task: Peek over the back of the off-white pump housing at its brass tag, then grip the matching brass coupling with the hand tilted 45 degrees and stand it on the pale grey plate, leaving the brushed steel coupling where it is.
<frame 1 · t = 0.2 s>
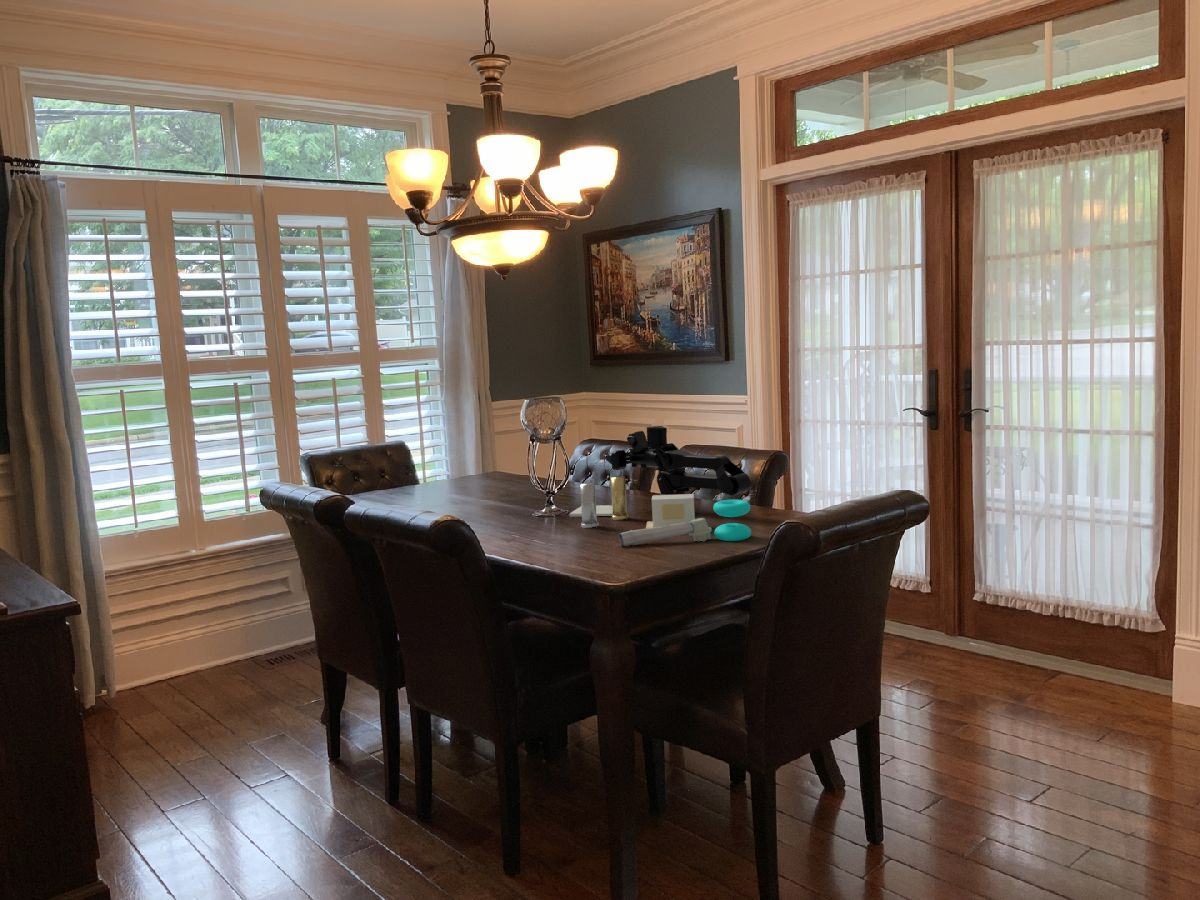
hand: (615, 456, 317), 17 cm above the table, tool horizontal, fingers open, 9 cm apart
brass coupling: (620, 518, 296), on the table
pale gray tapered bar: (665, 544, 259), on the table
donuts: (733, 538, 260), on the table
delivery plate: (596, 512, 308), on the table
pump housing: (674, 528, 277), on the table
steel coupling: (589, 526, 286), on the table
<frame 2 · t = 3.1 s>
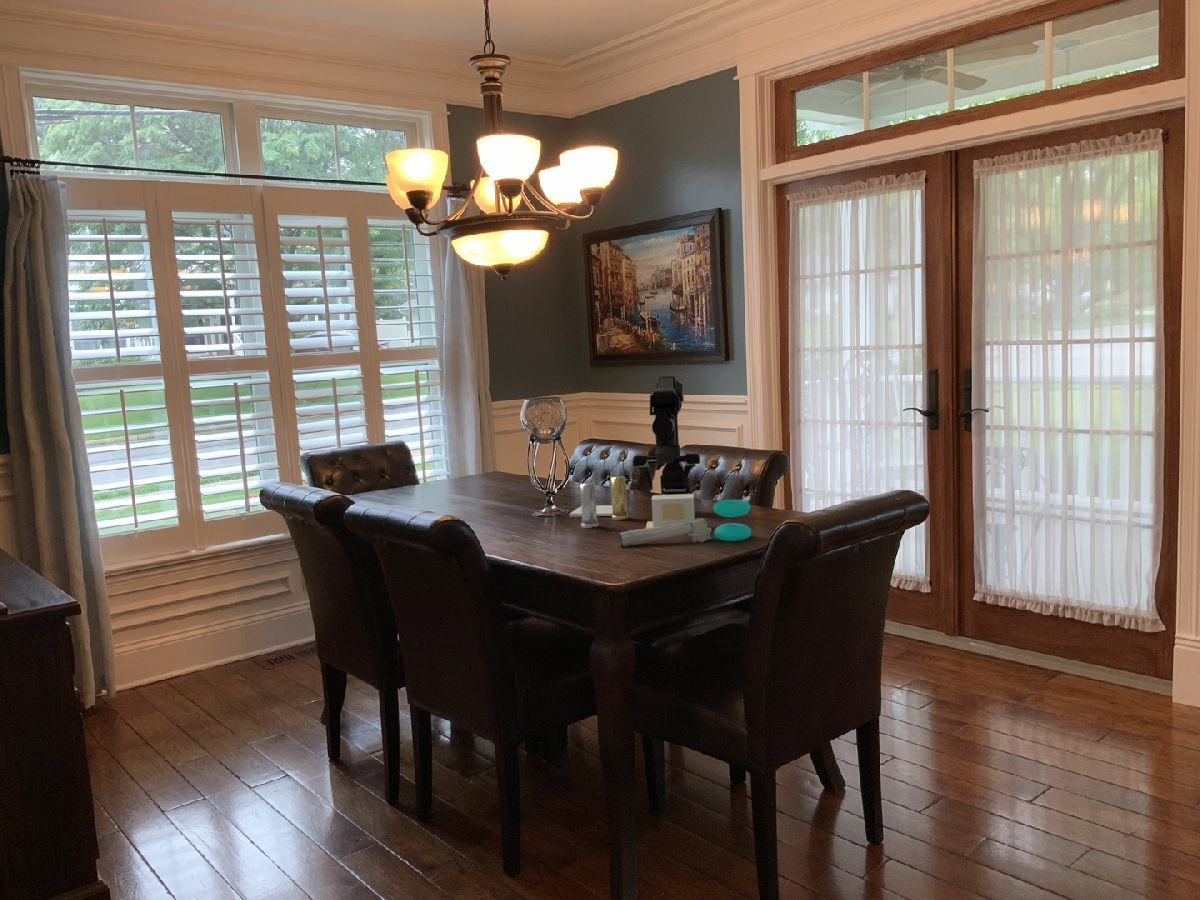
hand: (667, 489, 270), 12 cm above the table, tool pointing down, fingers open, 9 cm apart
nothing on the table moved.
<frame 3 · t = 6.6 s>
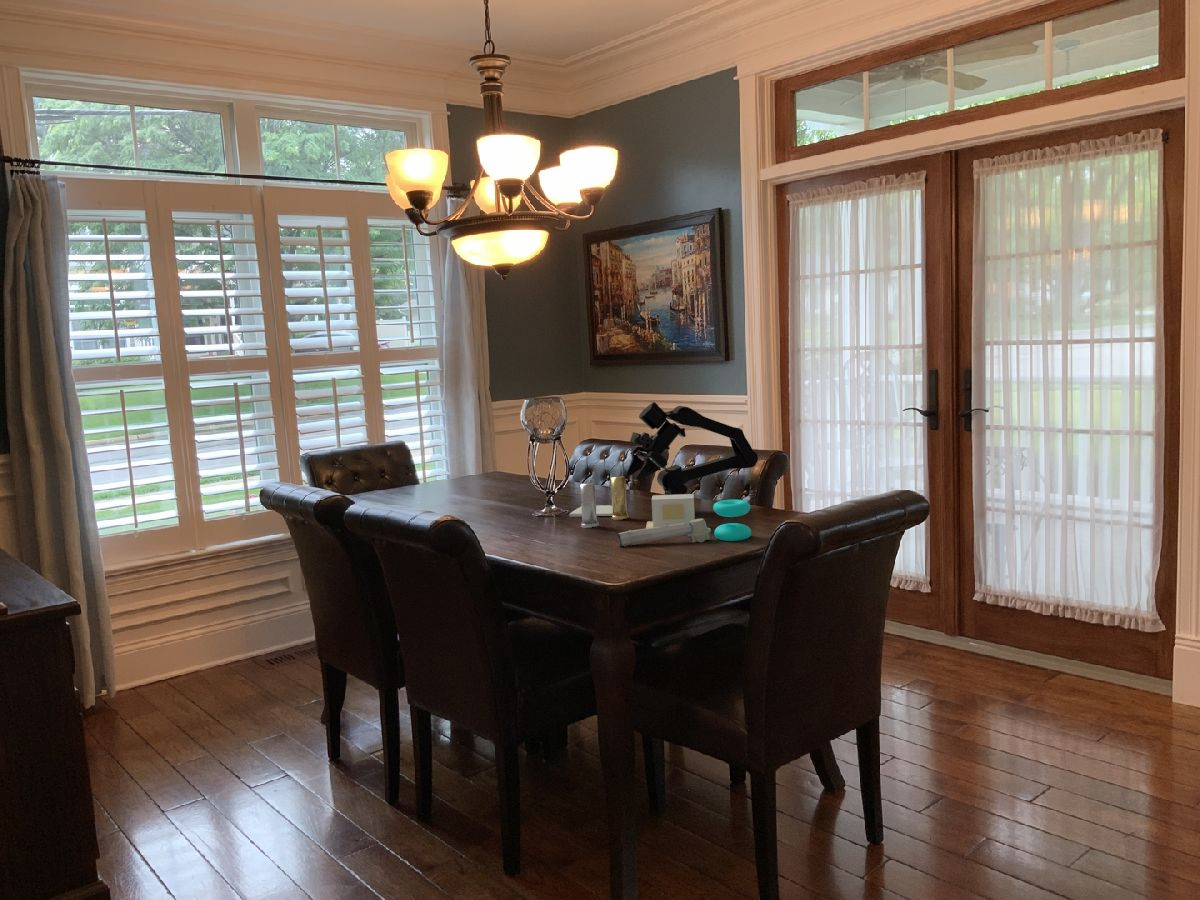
hand: (631, 477, 296), 12 cm above the table, tool tilted 45°, fingers open, 9 cm apart
nothing on the table moved.
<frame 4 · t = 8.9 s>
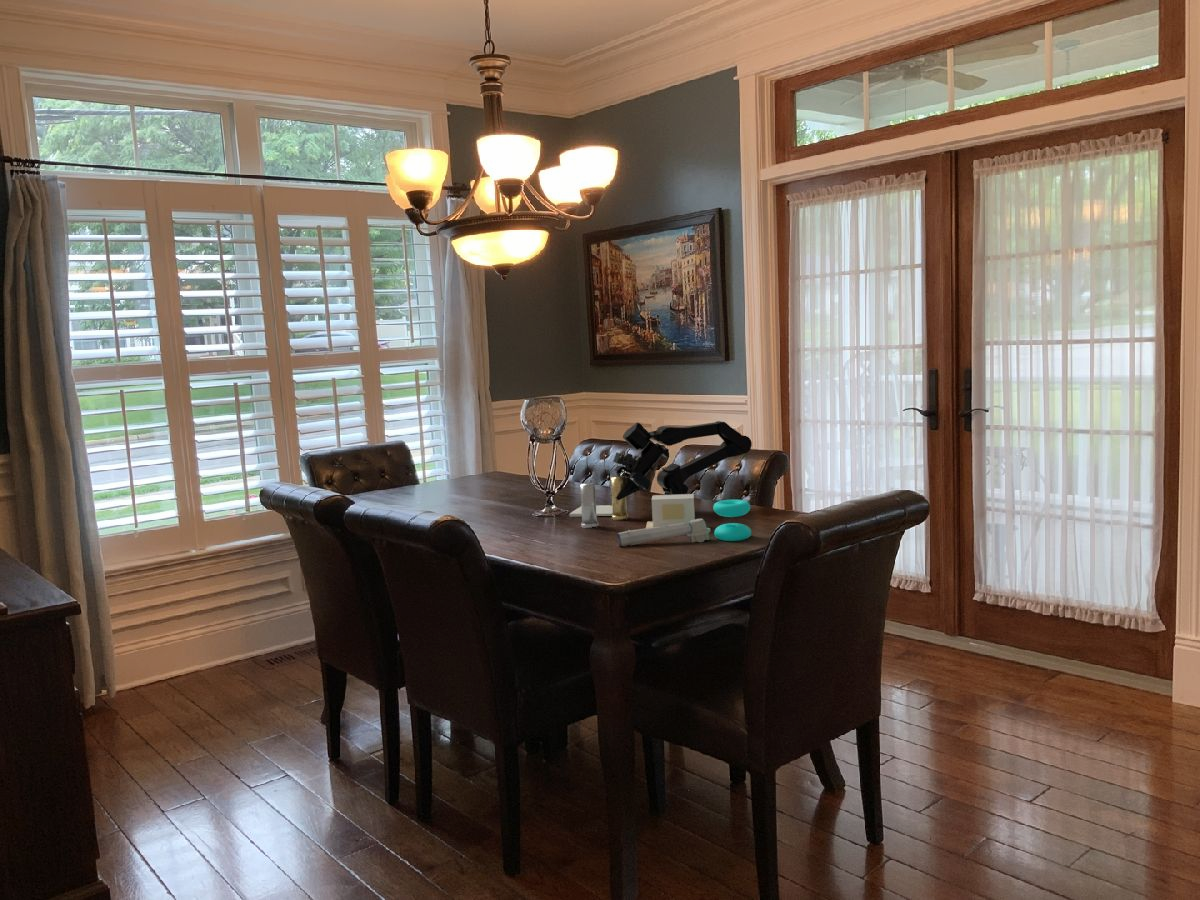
hand: (614, 498, 295), 7 cm above the table, tool tilted 45°, fingers closed on brass coupling, 4 cm apart
brass coupling: (620, 518, 296), on the table, touching gripper
everything else where it was.
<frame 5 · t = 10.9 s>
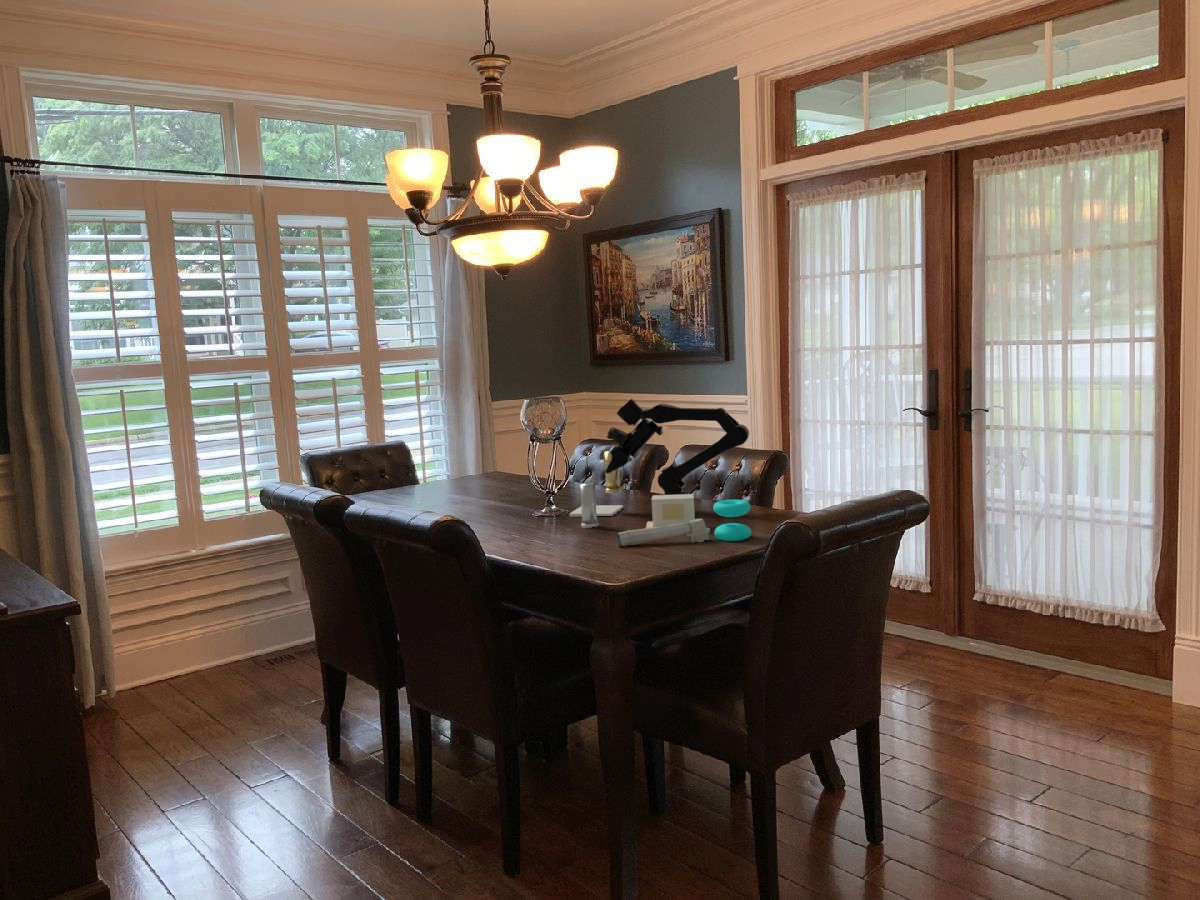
hand: (608, 471, 305), 13 cm above the table, tool tilted 45°, fingers closed on brass coupling, 4 cm apart
brass coupling: (613, 491, 305), point 7 cm above the table, touching gripper
everything else where it was.
when the fingers open (9 cm above the table, at t = 13.1 s): brass coupling drops 1 cm, resting on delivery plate.
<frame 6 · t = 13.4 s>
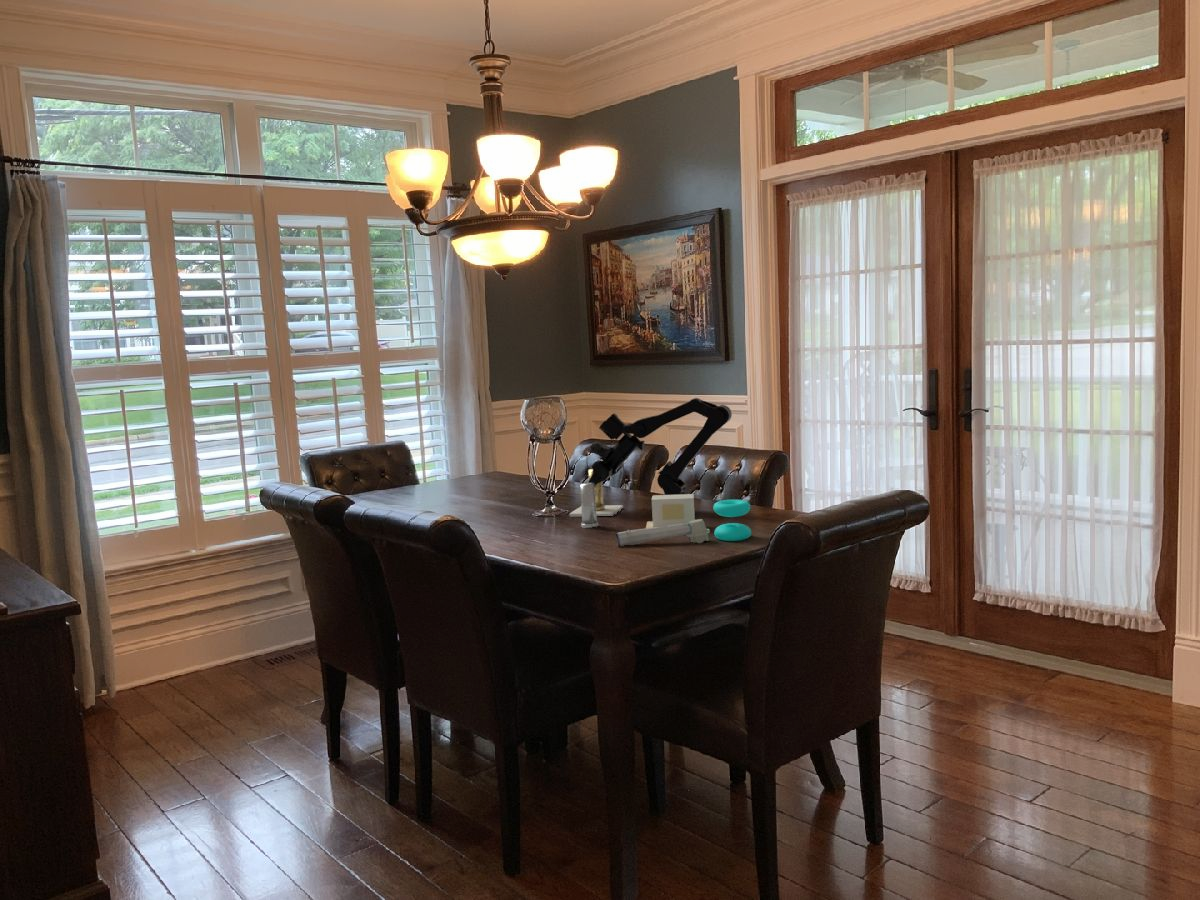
hand: (591, 484, 308), 9 cm above the table, tool tilted 45°, fingers open, 8 cm apart
brass coupling: (596, 509, 308), point 1 cm above the table, touching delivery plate
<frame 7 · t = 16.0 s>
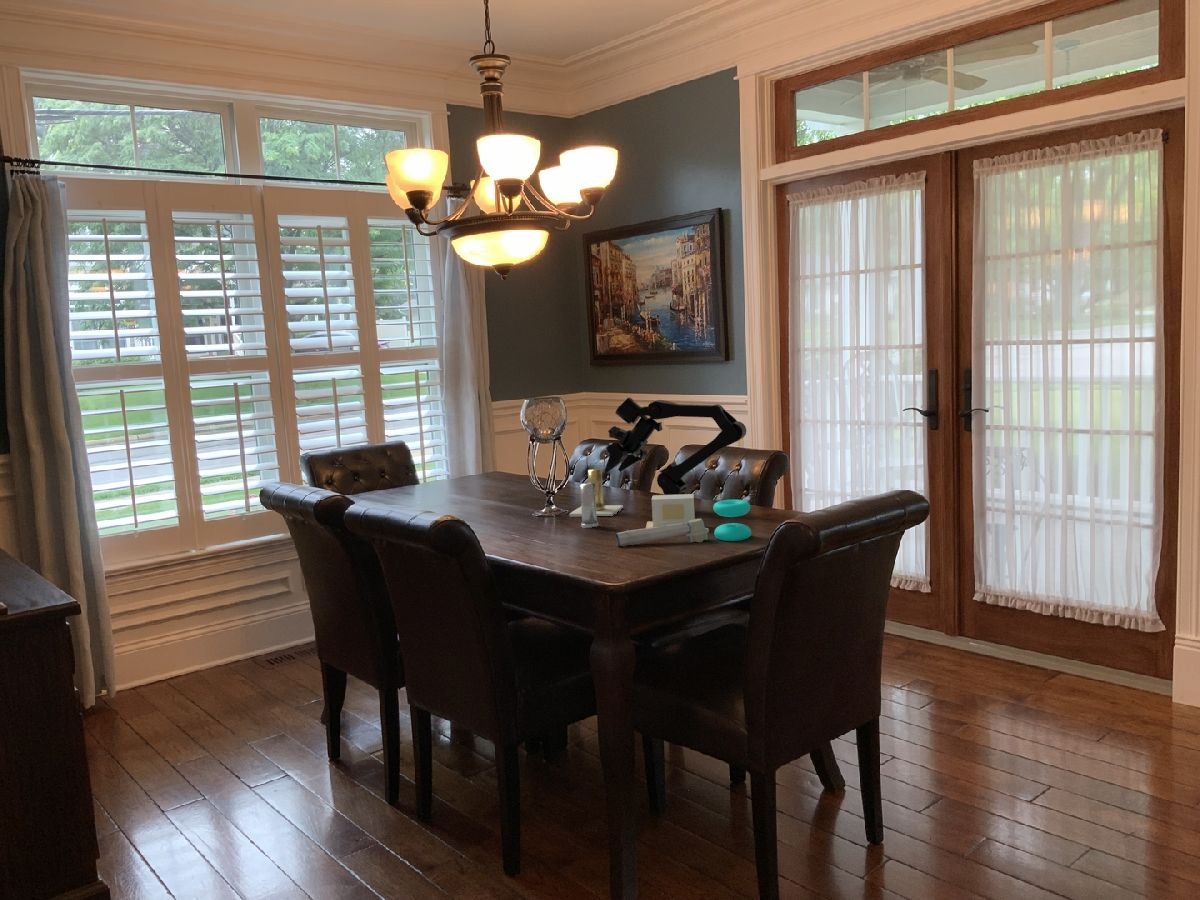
hand: (612, 471, 307), 13 cm above the table, tool tilted 40°, fingers open, 9 cm apart
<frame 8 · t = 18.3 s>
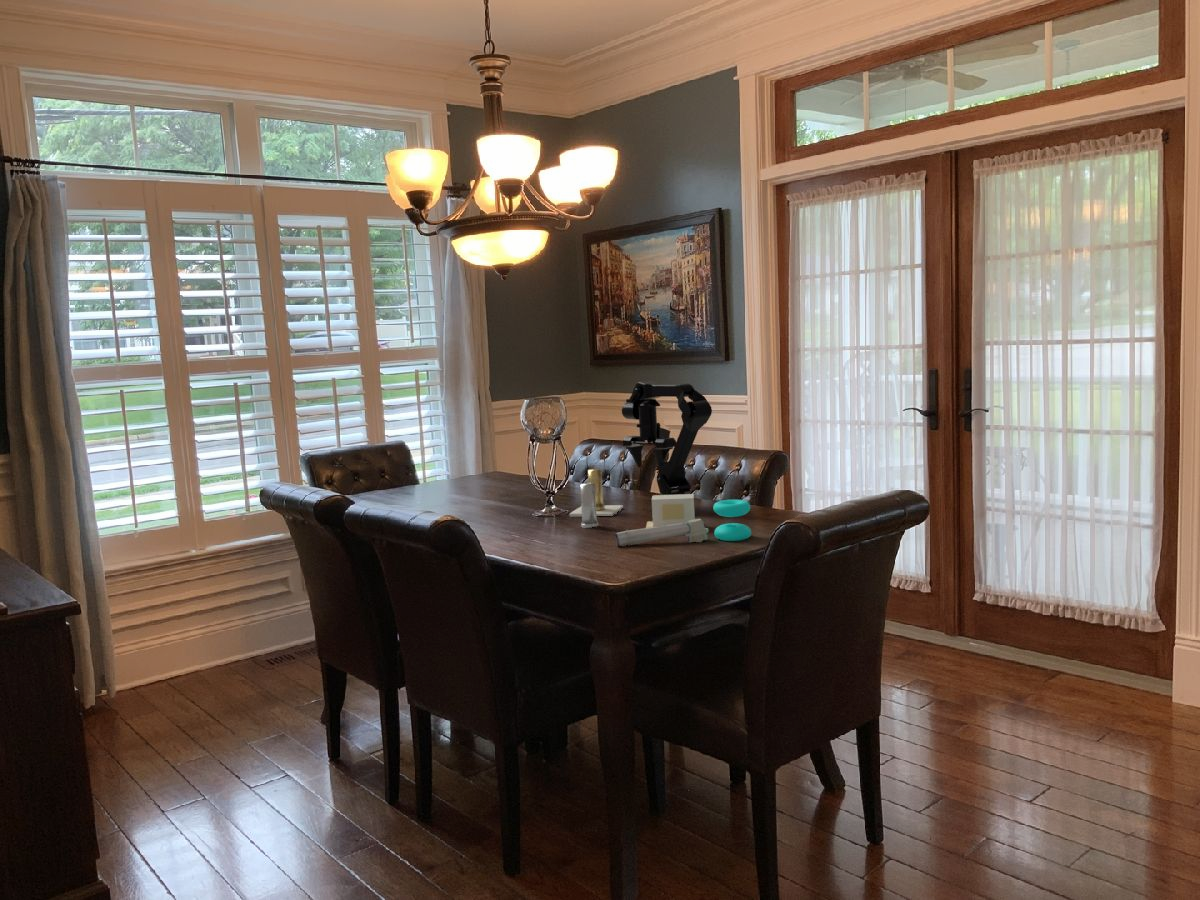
hand: (650, 468, 310), 13 cm above the table, tool pointing down, fingers open, 9 cm apart
at the end: brass coupling inside the target area on the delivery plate (0.1 cm from its centre), point 1.0 cm above the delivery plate's base; brass coupling tilted 0°; steel coupling moved 0.0 cm from its start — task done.
